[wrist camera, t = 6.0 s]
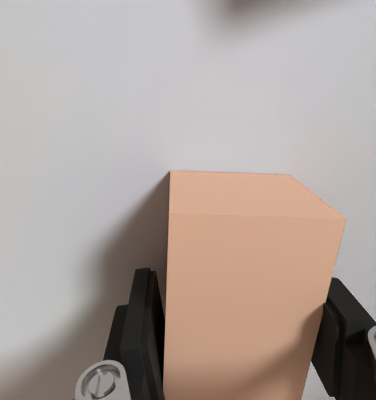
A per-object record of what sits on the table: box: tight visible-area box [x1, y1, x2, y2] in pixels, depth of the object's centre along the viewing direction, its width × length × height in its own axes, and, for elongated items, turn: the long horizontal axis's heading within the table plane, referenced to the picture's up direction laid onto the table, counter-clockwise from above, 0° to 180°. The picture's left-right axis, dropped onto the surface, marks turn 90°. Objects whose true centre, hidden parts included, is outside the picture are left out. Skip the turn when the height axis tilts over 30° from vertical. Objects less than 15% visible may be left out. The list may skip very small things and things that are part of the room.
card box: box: [163, 170, 347, 400], centre depth 11 cm, size 4×9×4 cm, turn 177°
